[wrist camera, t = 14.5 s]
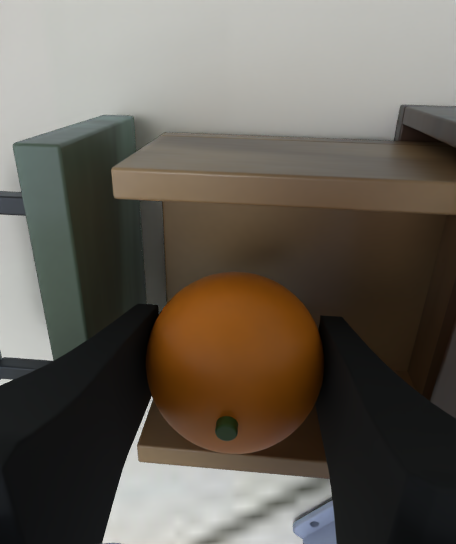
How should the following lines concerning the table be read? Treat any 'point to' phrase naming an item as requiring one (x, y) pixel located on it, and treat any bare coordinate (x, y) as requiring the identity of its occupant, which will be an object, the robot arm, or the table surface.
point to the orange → (235, 362)
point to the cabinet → (452, 339)
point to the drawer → (242, 244)
